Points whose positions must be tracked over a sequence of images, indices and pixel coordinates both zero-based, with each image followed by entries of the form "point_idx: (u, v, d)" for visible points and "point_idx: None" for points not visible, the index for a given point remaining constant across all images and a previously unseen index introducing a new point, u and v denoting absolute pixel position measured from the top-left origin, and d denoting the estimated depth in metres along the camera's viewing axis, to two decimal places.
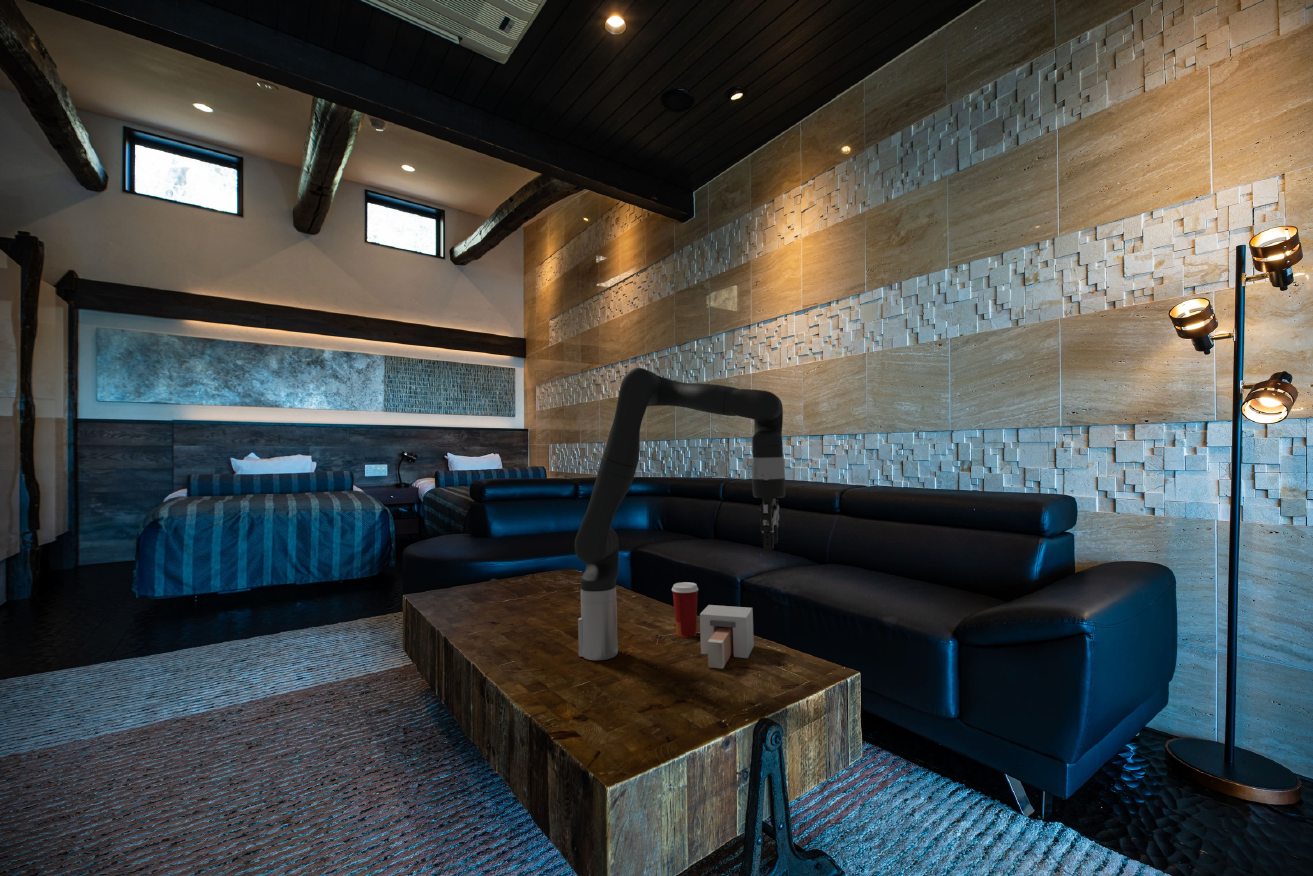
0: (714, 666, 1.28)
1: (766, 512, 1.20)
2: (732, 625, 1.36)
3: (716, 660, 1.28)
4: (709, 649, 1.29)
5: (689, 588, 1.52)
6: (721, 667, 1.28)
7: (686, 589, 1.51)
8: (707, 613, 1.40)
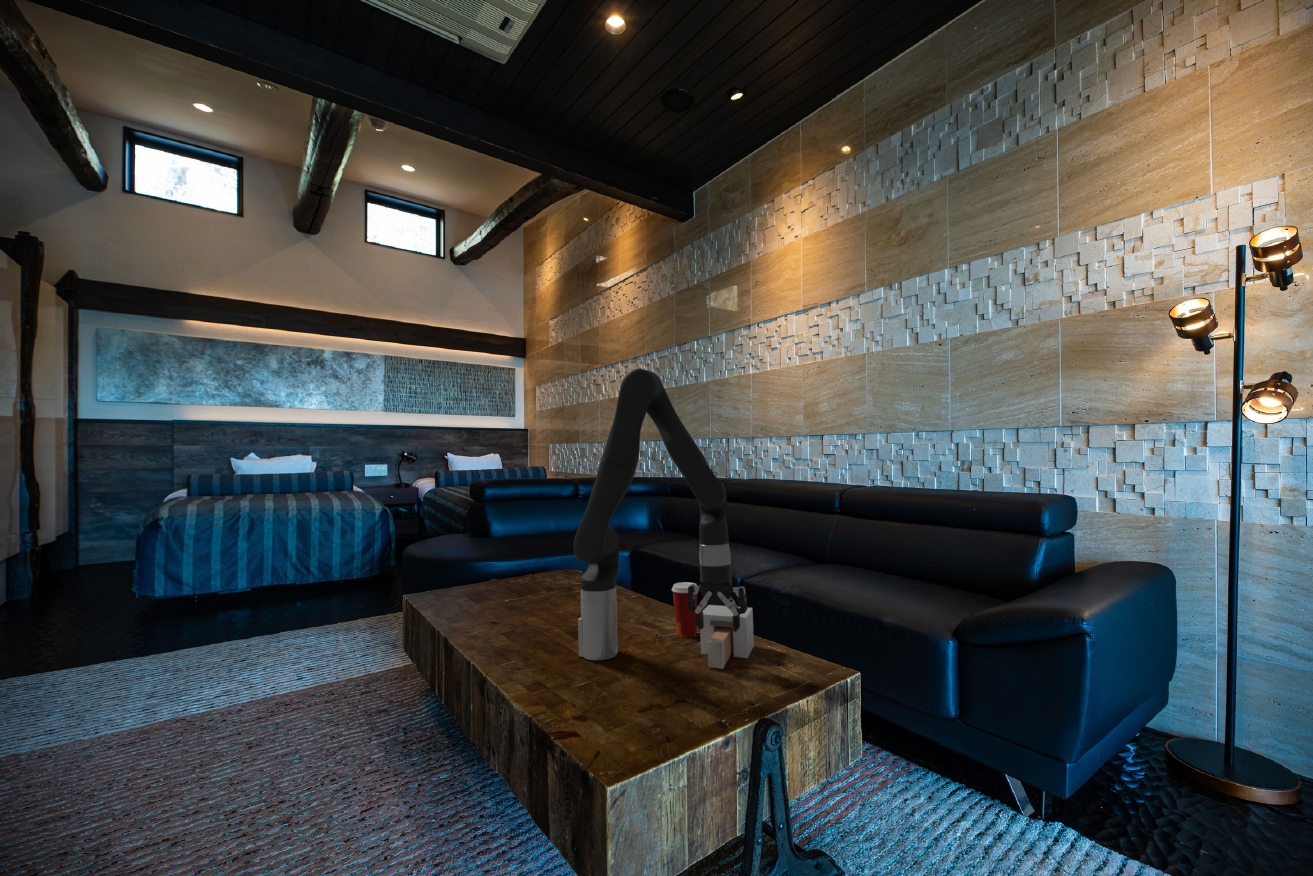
0: (714, 666, 1.28)
1: (744, 594, 1.29)
2: (732, 625, 1.36)
3: (716, 660, 1.28)
4: (709, 649, 1.29)
5: None
6: (721, 667, 1.28)
7: (686, 589, 1.51)
8: (707, 613, 1.40)
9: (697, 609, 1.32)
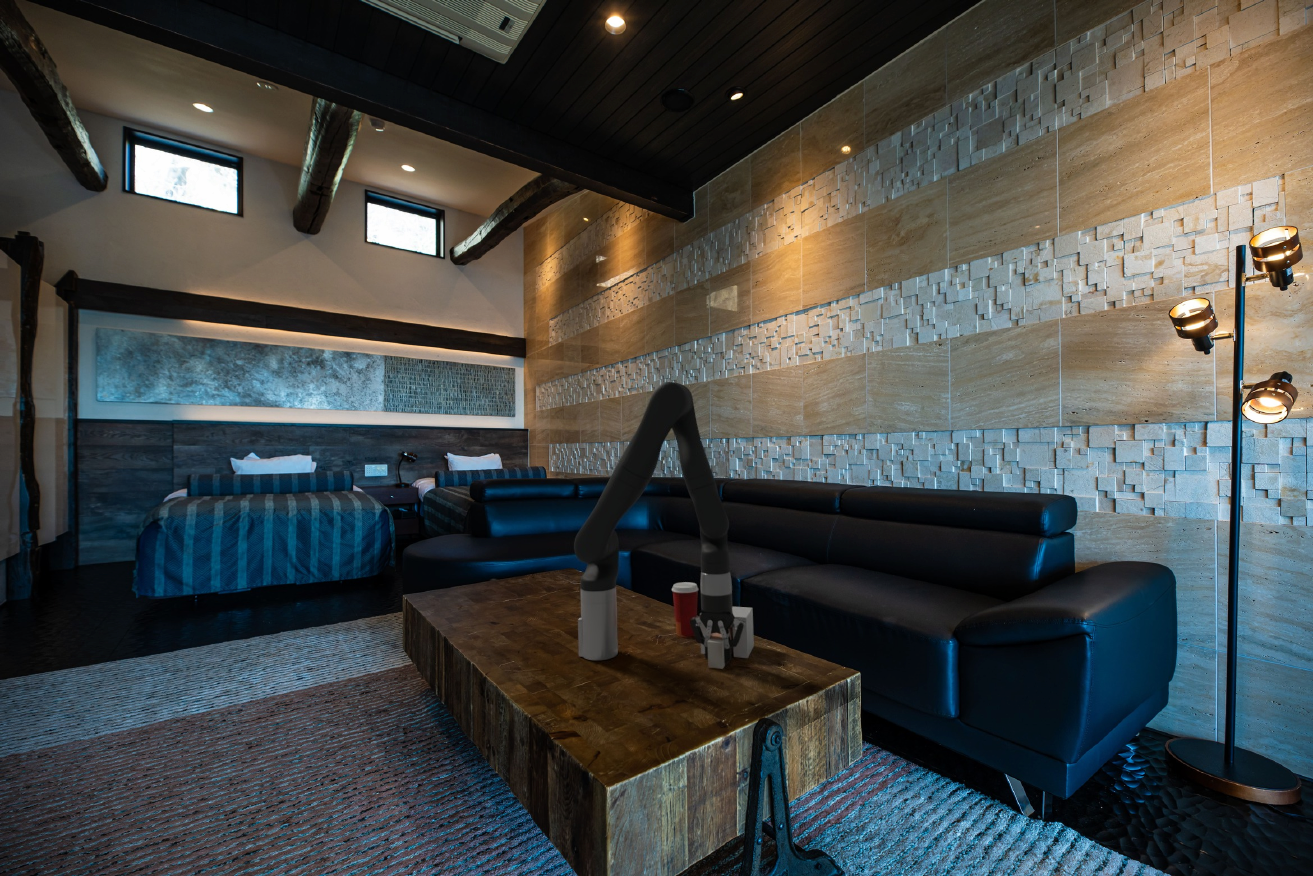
0: (714, 666, 1.28)
1: (742, 629, 1.30)
2: (732, 625, 1.36)
3: (716, 660, 1.28)
4: (709, 649, 1.29)
5: (689, 588, 1.52)
6: (721, 667, 1.28)
7: (686, 589, 1.51)
8: None
9: (706, 642, 1.31)
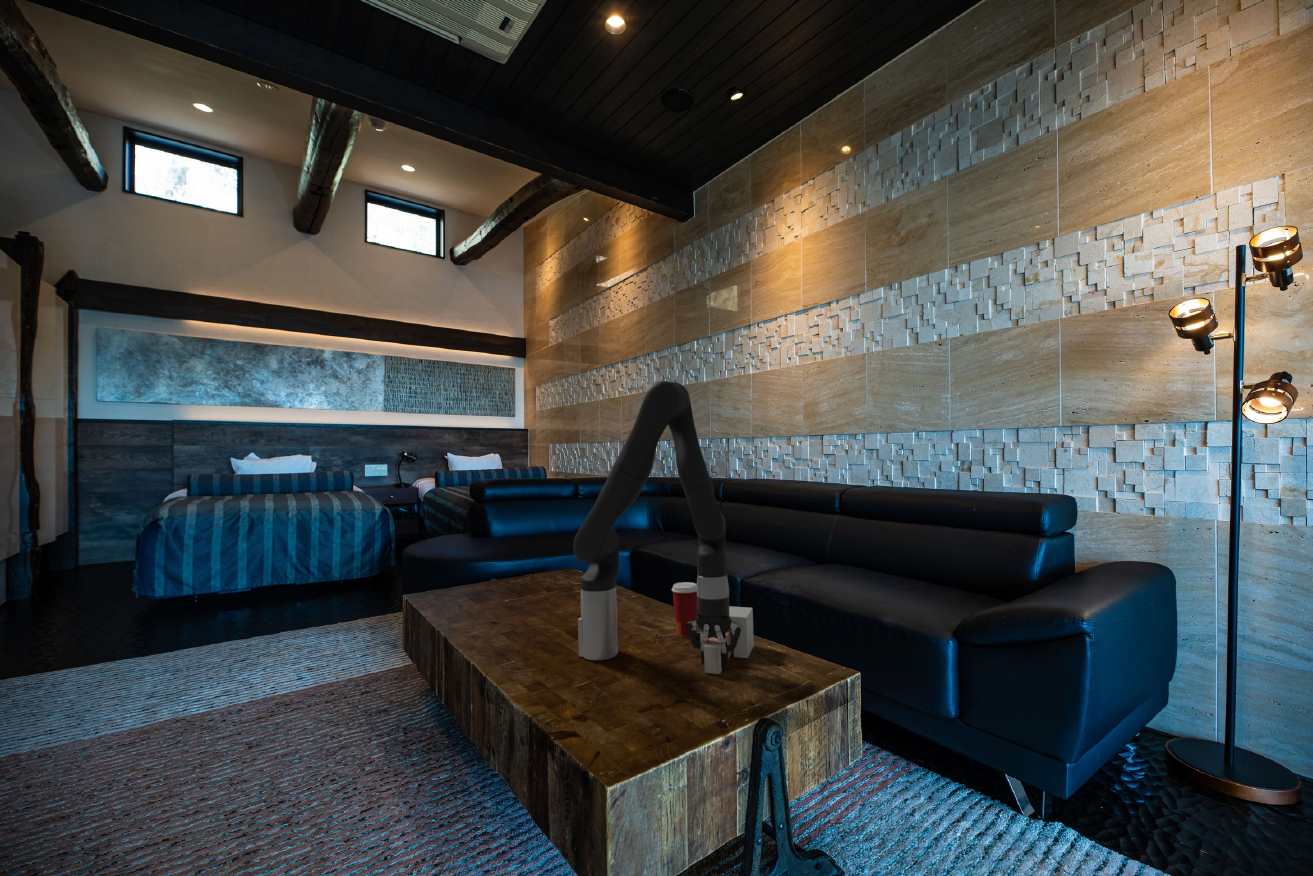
0: (711, 671, 1.25)
1: (739, 634, 1.27)
2: None
3: (713, 665, 1.25)
4: (706, 654, 1.26)
5: (689, 588, 1.52)
6: (718, 672, 1.25)
7: (686, 589, 1.51)
8: None
9: (703, 647, 1.28)
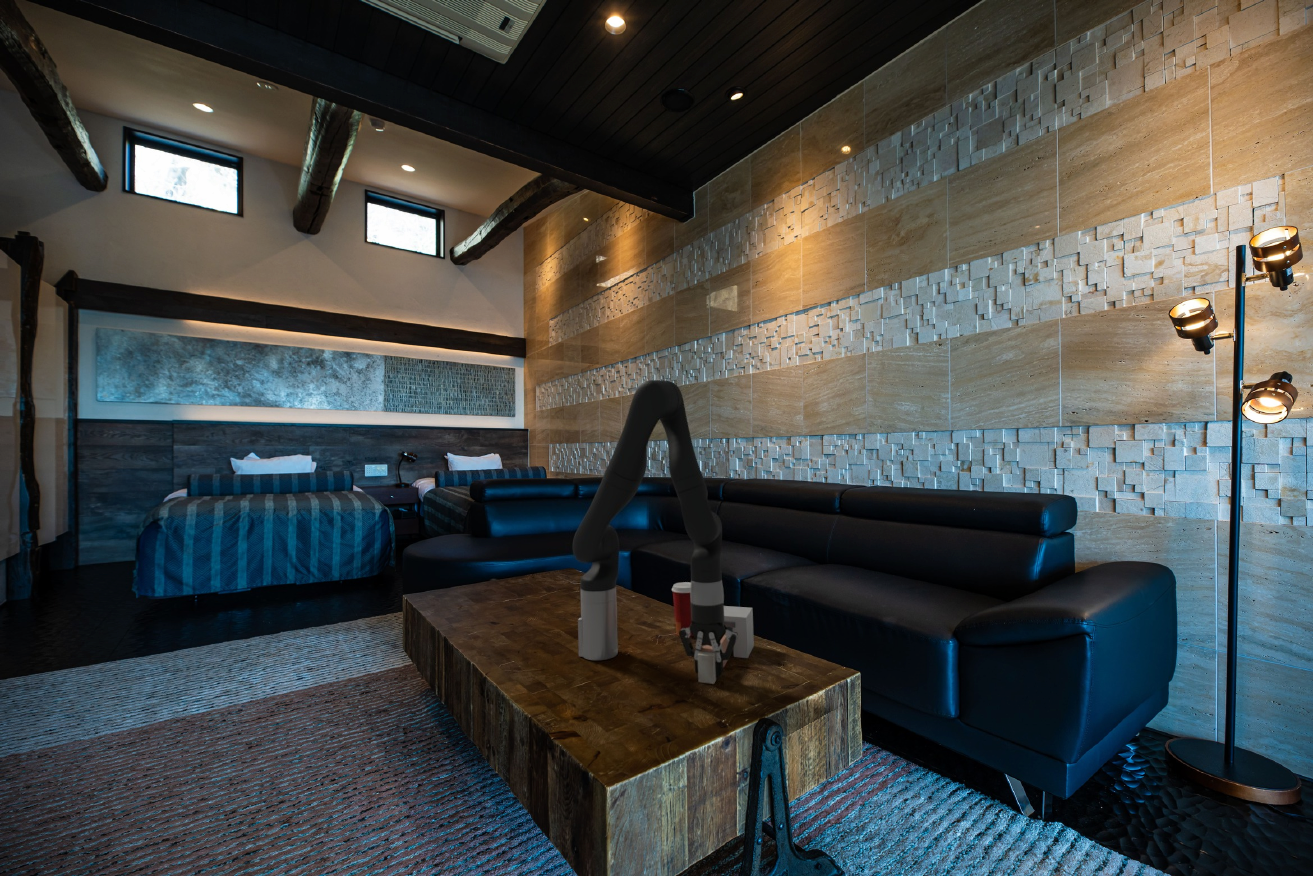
0: (705, 681, 1.20)
1: (734, 641, 1.21)
2: (732, 625, 1.36)
3: (707, 674, 1.20)
4: (700, 662, 1.21)
5: (689, 588, 1.52)
6: (712, 682, 1.20)
7: (686, 589, 1.51)
8: None
9: (696, 655, 1.23)
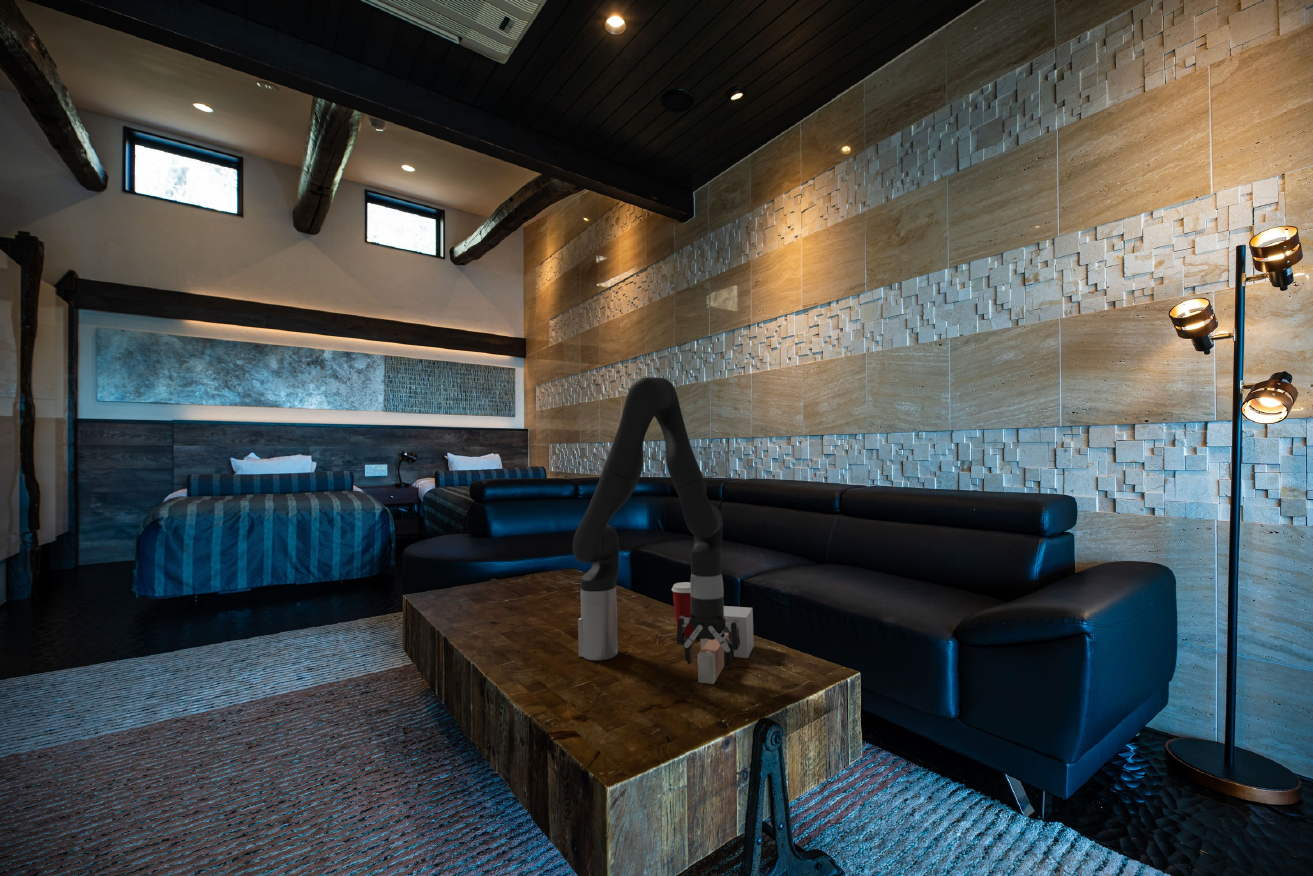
0: (704, 681, 1.20)
1: (737, 629, 1.21)
2: None
3: (707, 675, 1.20)
4: (699, 662, 1.21)
5: (689, 588, 1.52)
6: (712, 682, 1.19)
7: (686, 589, 1.51)
8: None
9: (686, 643, 1.24)
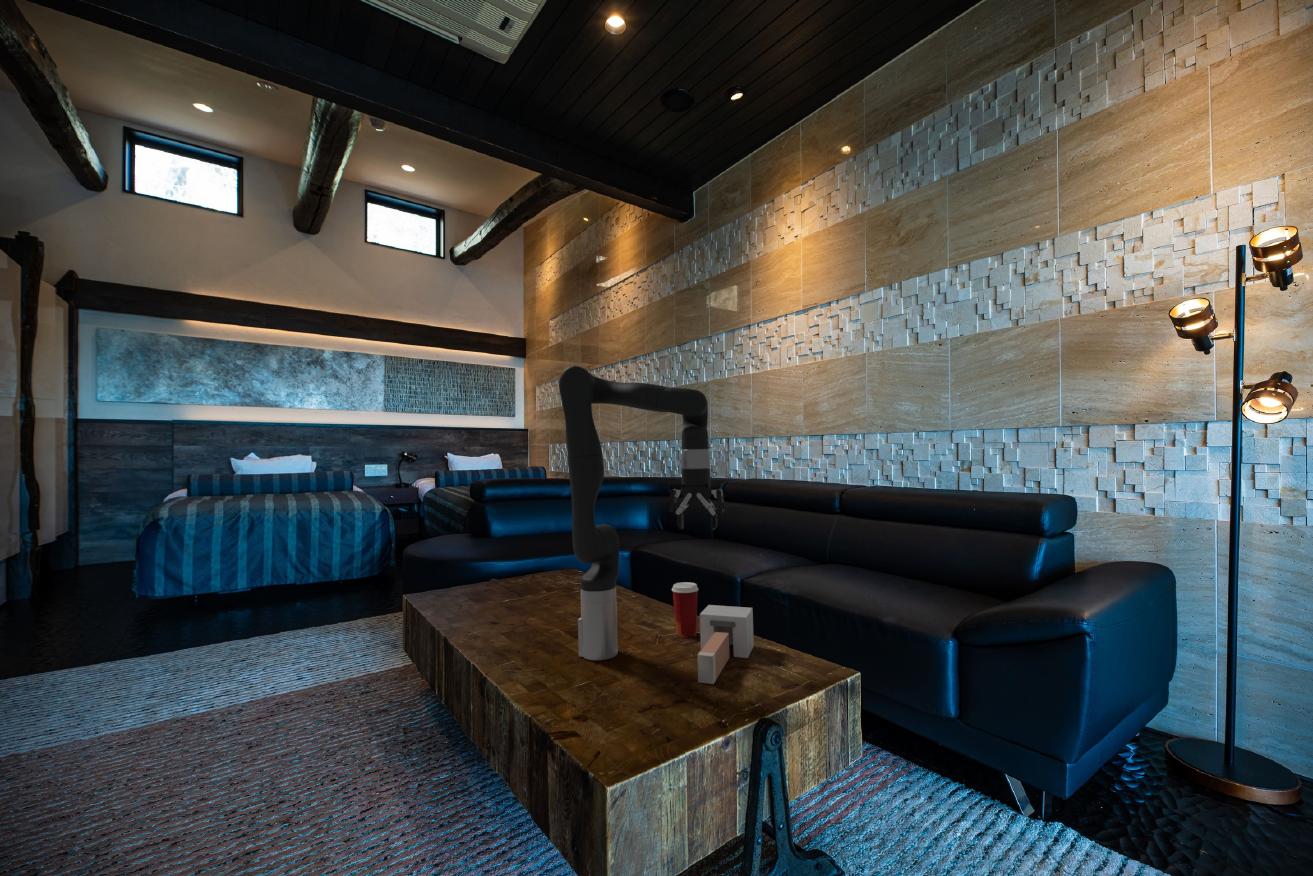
0: (704, 681, 1.20)
1: (722, 496, 1.39)
2: (732, 625, 1.36)
3: (707, 675, 1.20)
4: (699, 662, 1.21)
5: (689, 588, 1.52)
6: (712, 682, 1.19)
7: (686, 589, 1.51)
8: (707, 613, 1.40)
9: (678, 510, 1.42)
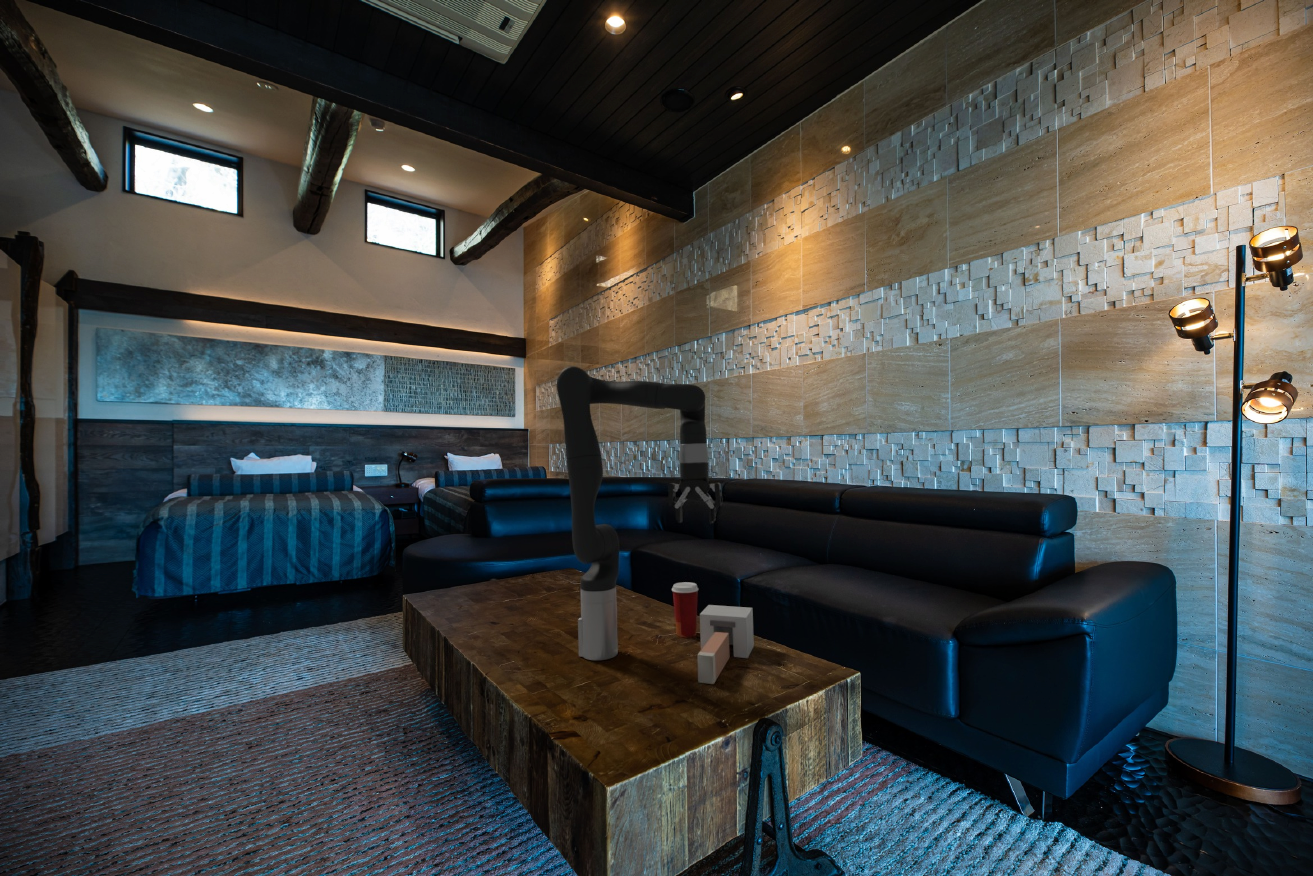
0: (704, 681, 1.20)
1: (720, 489, 1.41)
2: (732, 625, 1.36)
3: (707, 675, 1.20)
4: (699, 662, 1.21)
5: (689, 588, 1.52)
6: (712, 682, 1.19)
7: (686, 589, 1.51)
8: (707, 613, 1.40)
9: (677, 504, 1.43)
